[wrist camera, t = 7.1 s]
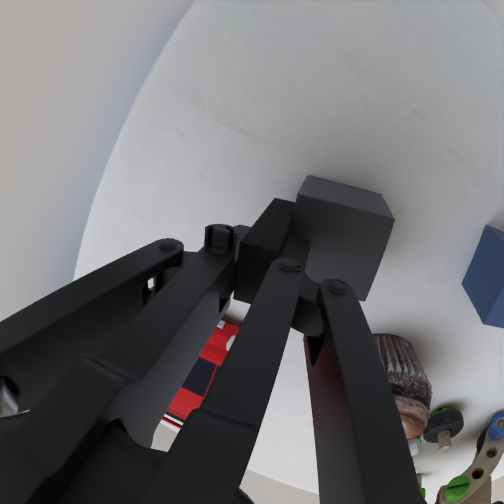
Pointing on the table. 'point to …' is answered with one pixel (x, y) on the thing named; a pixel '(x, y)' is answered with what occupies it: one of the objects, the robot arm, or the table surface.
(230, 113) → the table surface
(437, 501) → the toy construction set
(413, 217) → the table surface
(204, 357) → the toy car
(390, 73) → the table surface
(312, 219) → the charcoal block
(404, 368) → the cupcake
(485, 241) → the slate-blue block
